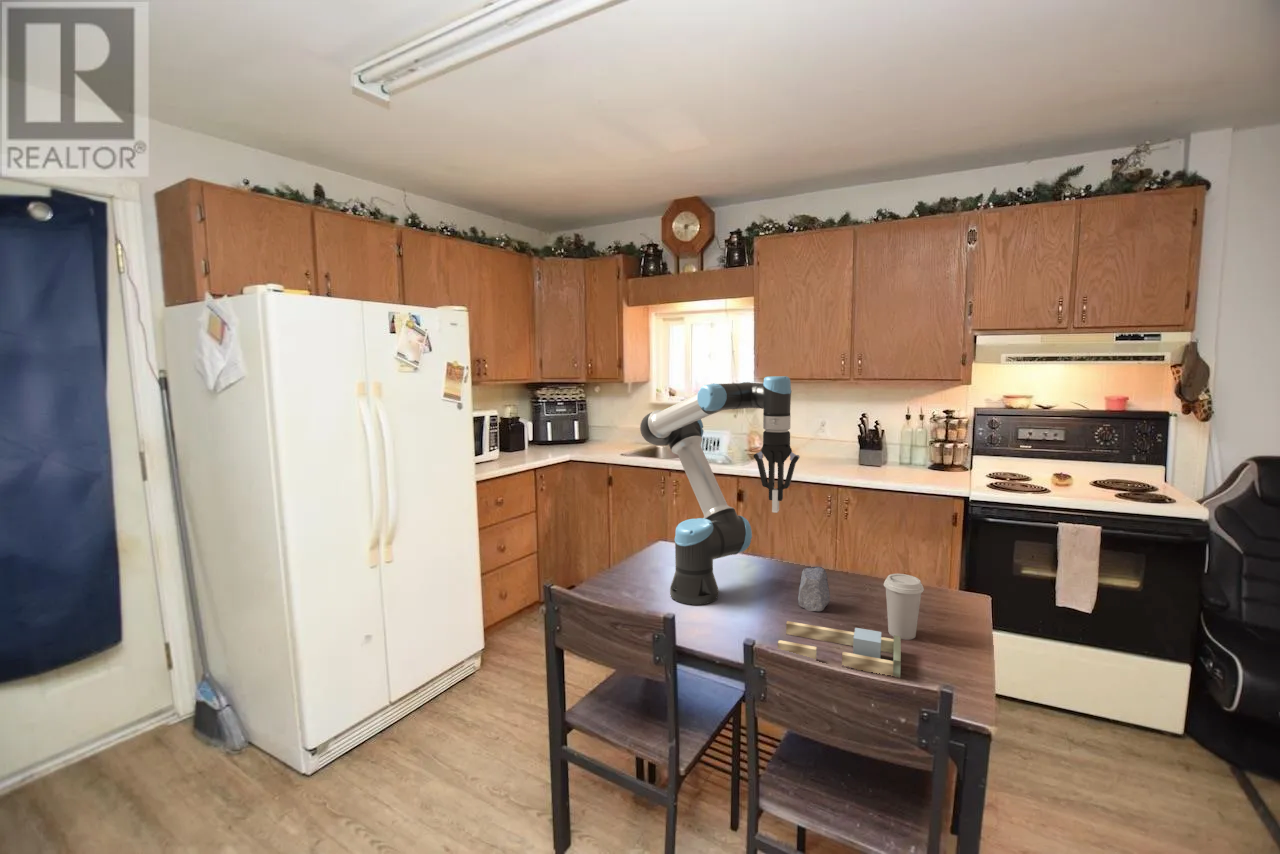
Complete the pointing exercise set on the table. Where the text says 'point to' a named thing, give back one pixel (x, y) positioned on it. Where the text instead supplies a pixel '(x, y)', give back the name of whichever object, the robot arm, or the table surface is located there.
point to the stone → (813, 589)
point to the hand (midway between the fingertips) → (775, 511)
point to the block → (867, 643)
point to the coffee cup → (903, 604)
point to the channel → (847, 639)
